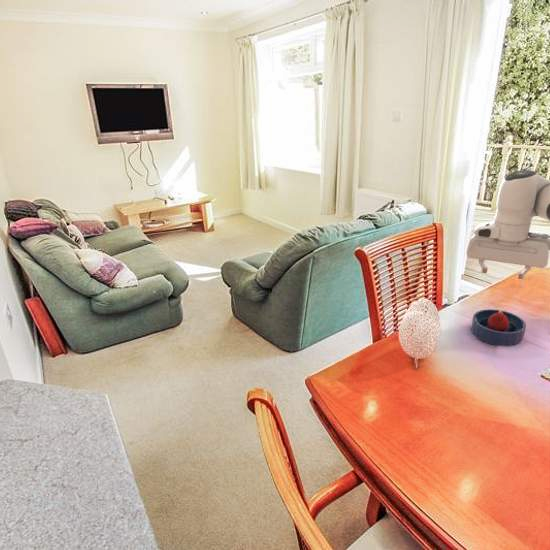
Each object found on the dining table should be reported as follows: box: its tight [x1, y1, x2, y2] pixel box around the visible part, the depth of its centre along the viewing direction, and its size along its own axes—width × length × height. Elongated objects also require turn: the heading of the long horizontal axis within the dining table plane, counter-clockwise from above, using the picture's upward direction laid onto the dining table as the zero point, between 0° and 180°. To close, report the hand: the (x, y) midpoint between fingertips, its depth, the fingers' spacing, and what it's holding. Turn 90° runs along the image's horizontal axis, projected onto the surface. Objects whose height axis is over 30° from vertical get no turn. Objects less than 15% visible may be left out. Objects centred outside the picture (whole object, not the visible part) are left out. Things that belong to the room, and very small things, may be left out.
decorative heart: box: [398, 298, 441, 369], centre depth 107 cm, size 18×11×17 cm, turn 150°
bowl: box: [470, 308, 527, 347], centre depth 117 cm, size 14×14×5 cm
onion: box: [488, 310, 509, 332], centre depth 117 cm, size 6×6×8 cm
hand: (501, 275), depth 111 cm, fingers open, 8 cm apart
